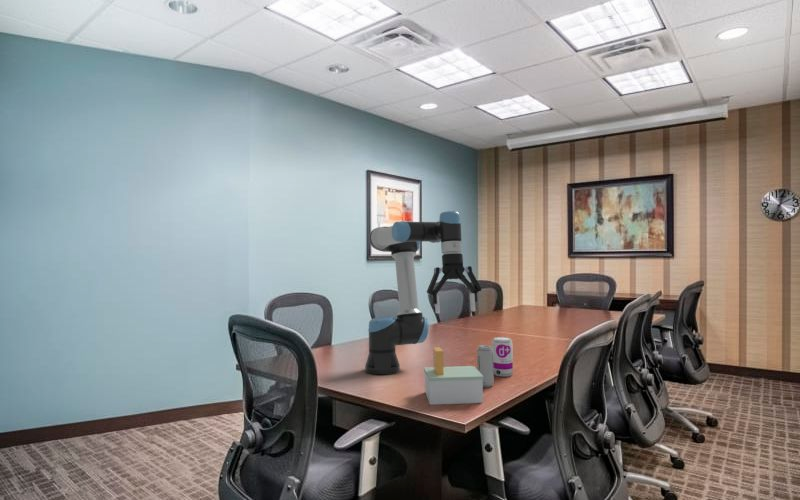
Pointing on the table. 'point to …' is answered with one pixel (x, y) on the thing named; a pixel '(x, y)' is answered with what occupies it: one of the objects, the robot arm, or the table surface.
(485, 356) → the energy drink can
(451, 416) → the table surface
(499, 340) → the supplement can
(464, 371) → the lid
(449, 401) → the tub
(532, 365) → the table surface
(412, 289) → the robot arm
